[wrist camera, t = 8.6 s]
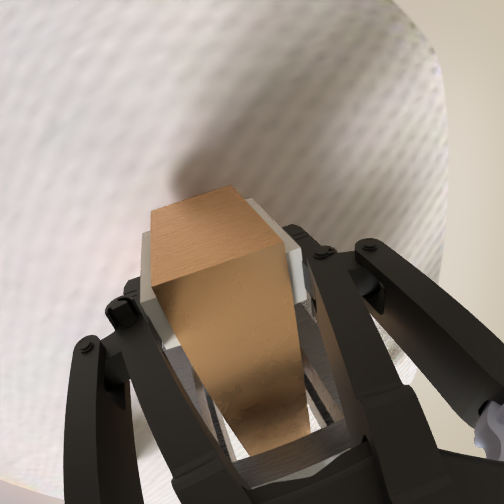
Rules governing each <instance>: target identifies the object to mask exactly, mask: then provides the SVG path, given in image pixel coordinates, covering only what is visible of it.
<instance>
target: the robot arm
mask: <svg viewBox="0 0 504 504" xmlns="http://www.w3.org/2000/svg"><path fill="white" fill-rule="evenodd" d="M245 200H246V201H247V202H248V203H249V205H250V206H251V207H252V208H253V209H254V210H255V211H256V212H257V213H258V214H259V215H260V216H261V217H262V219H263V220H264V221H265V222H266V223H267V224H268V225H269V226H270V227H271V228H272V229H273V231H274V232H275V233H276V234H277V235H278V236H279V237H280V238H281V239H282V240H283V242H284V246H285V252H286V258H287V265H288V271H289V277H290V283H291V290H292V296H293V303H294V305H295V304H297V303H300V302H302V301H305V300H307V293H306V290H307V291H308V293H309V294H310V295H311V303H312V313H313V316H315V317H316V320H317V323H318V326H319V330H320V333H321V336H322V340H323V343H324V346H325V350H326V353H327V356H328V360H329V363H330V367H331V370H332V374H333V377H334V381H335V384H336V388H337V391H338V395H339V399H340V402H341V406H342V410H343V413H344V417H345V421H346V425H347V429H348V433H349V438H350V448H351V449H350V450H348V451H346V452H344V453H342V454H340V455H339V456H338V457H337V458H336V459H334V460H333V461H332V462H330V463H329V464H328V465H327V466H325V467H324V468H323V469H321V470H320V471H319V472H317V473H316V474H314V475H313V476H310V477H306V478H300V479H294V480H287V481H279V482H272V483H269V484H266V485H263V486H260V487H257V488H254V489H251V488H250V486H249V485H248V484H247V483H246V482H245V480H244V479H243V478H242V477H241V475H240V474H239V473H238V471H237V470H236V468H235V467H234V466H233V464H232V463H231V461H230V460H229V459H228V457H227V456H226V454H225V453H224V451H223V450H222V448H221V447H220V445H219V444H218V442H217V441H216V439H215V438H214V436H213V435H212V433H211V432H210V430H209V428H208V427H207V425H206V424H205V422H204V420H203V419H202V417H201V416H200V414H199V412H198V411H197V409H196V407H195V406H194V404H193V402H192V401H191V399H190V397H189V396H188V394H187V392H186V390H185V389H184V387H183V385H182V383H181V382H180V380H179V378H178V376H177V374H176V372H175V371H174V369H173V367H172V365H171V363H170V361H169V359H168V357H167V356H166V354H165V352H164V351H163V347H162V343H163V345H164V346H165V348H166V350H167V349H170V348H174V347H177V346H180V345H181V344H180V343H179V341H178V339H177V337H176V335H175V333H174V331H173V329H172V328H171V326H170V324H169V322H168V320H167V318H166V316H165V314H164V312H163V310H162V308H161V306H160V304H159V302H158V300H157V298H156V296H155V294H154V292H153V290H152V287H151V231H148V232H145V233H143V234H142V251H141V276H140V277H137V278H134V279H131V280H128V282H127V283H126V285H125V287H124V293H123V294H124V295H123V296H120V297H118V298H116V299H114V300H113V301H111V302H110V303H109V304H108V305H107V307H106V309H105V314H106V316H107V318H108V319H109V321H110V322H111V324H112V326H113V327H114V329H115V331H114V332H113V333H112V334H110V335H109V336H107V337H105V338H104V339H102V340H100V339H99V338H98V337H97V336H95V335H89V336H86V337H84V338H82V339H81V340H80V341H79V342H78V343H77V344H76V346H75V348H74V351H73V357H72V363H71V370H70V377H69V385H68V394H67V403H66V415H65V429H64V456H63V474H64V500H65V504H144V500H143V495H142V490H141V484H140V478H139V471H138V465H137V457H136V450H135V441H134V432H133V422H132V410H131V396H130V381H129V379H131V381H132V384H133V387H134V390H135V392H136V395H137V397H138V400H139V403H140V405H141V408H142V410H143V413H144V415H145V417H146V420H147V422H148V424H149V427H150V429H151V431H152V434H153V436H154V438H155V440H156V442H157V445H158V447H159V449H160V451H161V453H162V455H163V457H164V459H165V461H166V463H167V465H168V467H169V469H170V471H171V473H172V476H173V479H172V480H171V483H172V486H173V489H174V491H175V493H176V495H177V497H178V498H179V500H180V502H181V504H504V343H503V342H502V341H501V340H500V339H499V338H497V337H496V336H495V335H494V334H493V333H492V332H491V331H490V330H489V329H488V328H487V327H486V326H485V325H483V324H482V323H481V322H480V321H479V320H478V319H477V318H475V316H473V315H472V314H471V313H470V312H469V311H468V310H467V309H465V308H464V307H463V306H462V305H461V304H460V303H458V302H457V301H456V300H455V299H454V298H453V297H451V296H450V295H449V294H448V293H447V292H445V291H444V290H443V289H442V288H441V287H439V286H438V285H437V284H436V283H435V282H433V281H432V280H431V279H430V278H428V277H427V276H426V275H425V274H423V273H422V272H421V271H420V270H418V269H417V268H416V267H414V266H413V265H412V264H411V263H409V262H408V261H407V260H405V259H404V258H403V257H402V256H400V255H399V254H398V253H396V252H395V251H394V250H392V249H391V248H390V247H388V246H387V245H385V244H384V243H383V242H381V241H379V240H377V239H373V238H366V239H362V240H360V241H358V242H357V243H356V244H355V251H350V252H343V253H338V252H337V251H336V250H335V249H334V248H333V247H330V246H321V245H320V244H319V243H318V242H317V241H315V240H314V239H313V238H312V237H311V236H309V234H308V233H307V232H305V231H304V230H303V229H302V228H301V227H299V226H296V225H293V224H291V225H288V226H285V227H282V228H281V227H280V226H279V225H278V224H277V223H276V222H275V221H274V220H273V219H272V218H271V217H270V216H269V215H268V214H267V213H266V212H265V211H264V210H263V209H262V208H261V207H260V206H259V205H258V204H257V203H256V202H255V201H254V200H253V199H252V198H248V199H245ZM370 314H371V315H372V316H373V317H374V318H375V319H376V321H377V322H378V323H379V324H380V325H381V326H382V327H383V328H384V329H385V331H386V332H387V333H388V334H389V335H390V336H391V337H392V338H393V339H394V341H395V342H396V343H397V344H398V345H399V346H400V347H401V349H402V350H403V351H404V352H405V353H406V354H407V355H408V357H409V358H410V359H411V360H412V361H413V362H414V364H415V365H416V366H417V367H418V368H419V369H420V371H421V372H422V373H423V374H424V375H425V376H426V378H427V379H428V380H429V381H430V382H431V383H432V385H433V386H434V387H435V388H436V389H437V391H438V392H439V393H440V394H441V396H442V397H443V398H444V399H445V400H446V402H447V403H448V404H449V405H450V406H451V408H452V409H453V410H454V411H455V412H456V413H457V414H458V416H460V418H461V419H463V420H464V421H465V422H466V423H467V424H468V425H469V426H471V427H472V428H474V429H475V431H474V433H475V438H474V443H475V445H476V446H477V447H479V448H483V449H484V450H485V453H486V456H487V459H486V458H480V457H475V456H469V455H464V454H459V453H454V452H451V451H446V450H442V449H438V448H437V445H436V442H435V440H434V437H433V435H432V432H431V430H430V427H429V425H428V422H427V420H426V417H425V415H424V412H423V410H422V408H421V405H420V403H419V401H418V398H417V396H416V394H415V392H414V390H413V388H412V387H410V385H404V384H403V383H402V382H401V380H400V378H399V375H398V373H397V371H396V369H395V366H394V364H393V362H392V360H391V357H390V355H389V353H388V351H387V349H386V347H385V344H384V342H383V340H382V338H381V336H380V334H379V332H378V330H377V328H376V326H375V323H374V321H373V319H372V317H371V315H370Z"/></svg>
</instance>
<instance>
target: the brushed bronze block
mask: <svg viewBox="0 0 504 504" xmlns="http://www.w3.org/2000/svg"><path fill="white" fill-rule="evenodd" d="M151 287H152V290H153V292H154V294H155V296H156V298H157V300H158V302H159V304H160V306H161V308H162V310H163V312H164V314H165V316H166V318H167V320H168V322H169V324H170V326H171V328H172V329H173V331H174V333H175V335H176V337H177V339H178V341H179V343H180V344H181V346H182V348H183V350H184V352H185V354H186V355H187V357H188V359H189V361H190V363H191V364H192V366H193V368H194V370H195V371H196V373H197V375H198V376H199V378H200V380H201V382H202V383H203V385H204V387H205V388H206V390H207V392H208V393H209V395H210V396H211V398H212V400H213V401H214V403H215V405H216V406H217V408H218V409H219V411H220V412H221V414H222V416H223V417H224V419H225V420H226V422H227V423H228V425H229V426H230V428H231V429H232V431H233V432H234V434H235V435H236V437H237V438H238V440H239V441H240V443H241V444H242V446H243V447H244V448H245V450H246V451H247V453H248V454H249V455H250V457H251V456H254V455H257V454H260V453H263V452H265V451H268V450H271V449H274V448H276V447H279V446H282V445H284V444H287V443H289V442H292V441H294V440H297V439H299V438H302V437H304V436H306V435H309V434H311V431H310V422H309V414H308V405H307V397H306V389H305V381H304V374H303V366H302V359H301V351H300V344H299V337H298V330H297V323H296V316H295V309H294V303H293V296H292V290H291V283H290V277H289V271H288V265H287V258H286V252H285V246H284V242H283V240H282V239H281V238H280V237H279V236H278V235H277V234H276V233H275V232H274V231H273V229H272V228H271V227H270V226H269V225H268V224H267V223H266V222H265V221H264V220H263V219H262V217H261V216H260V215H259V214H258V213H257V212H256V211H255V210H254V209H253V208H252V207H251V206H250V205H249V203H248V202H247V201H246V200H245V199H244V198H243V197H242V196H241V195H240V194H239V193H238V192H237V191H236V190H235V189H234V187H233V186H232V185H230V186H227V187H223V188H220V189H217V190H213V191H210V192H207V193H204V194H201V195H198V196H195V197H192V198H188V199H185V200H182V201H179V202H176V203H173V204H170V205H168V206H165V207H162V208H159V209H156V210H153V211H151Z"/></svg>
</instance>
